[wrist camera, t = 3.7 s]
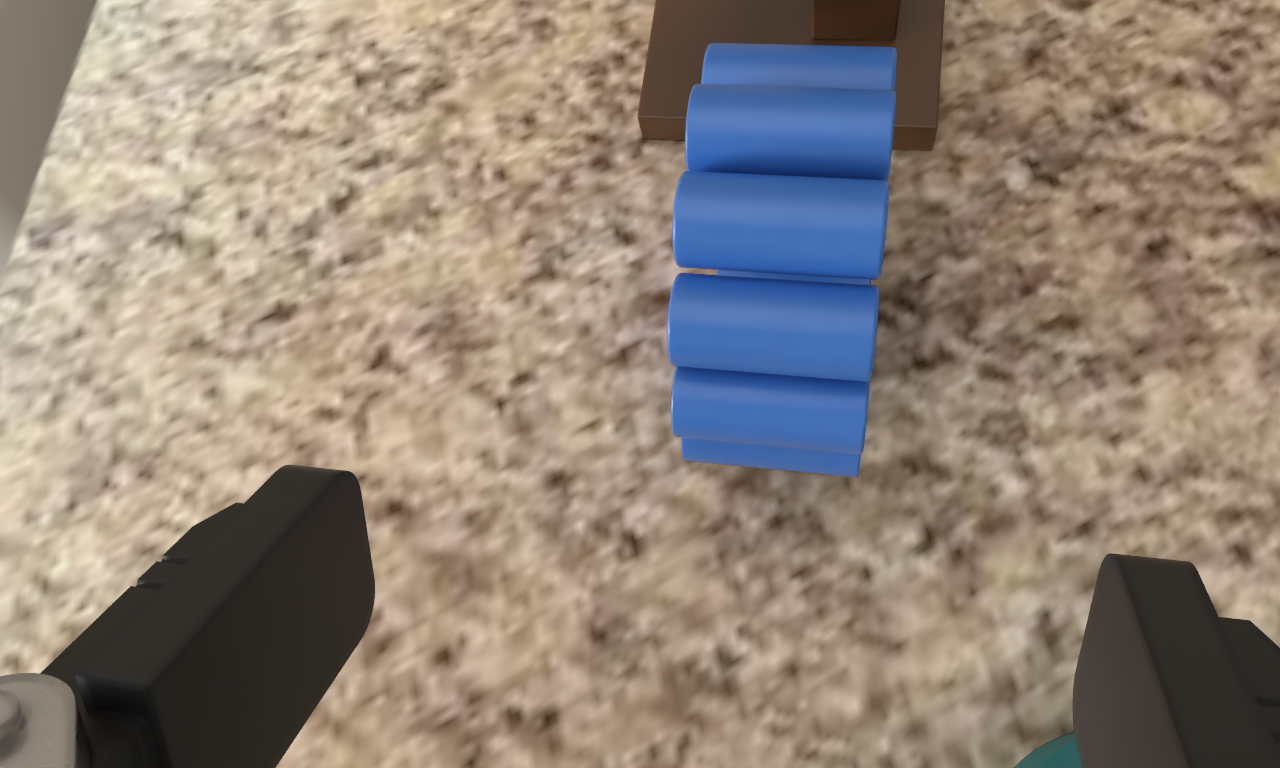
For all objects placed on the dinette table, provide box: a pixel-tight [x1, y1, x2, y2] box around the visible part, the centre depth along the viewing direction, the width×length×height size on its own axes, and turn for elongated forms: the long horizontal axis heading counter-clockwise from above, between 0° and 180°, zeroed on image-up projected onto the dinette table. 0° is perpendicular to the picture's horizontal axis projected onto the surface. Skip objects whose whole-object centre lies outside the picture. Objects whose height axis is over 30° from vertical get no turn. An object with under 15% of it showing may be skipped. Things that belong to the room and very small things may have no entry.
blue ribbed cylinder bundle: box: [667, 43, 897, 477], centre depth 24 cm, size 4×9×9 cm, turn 172°
